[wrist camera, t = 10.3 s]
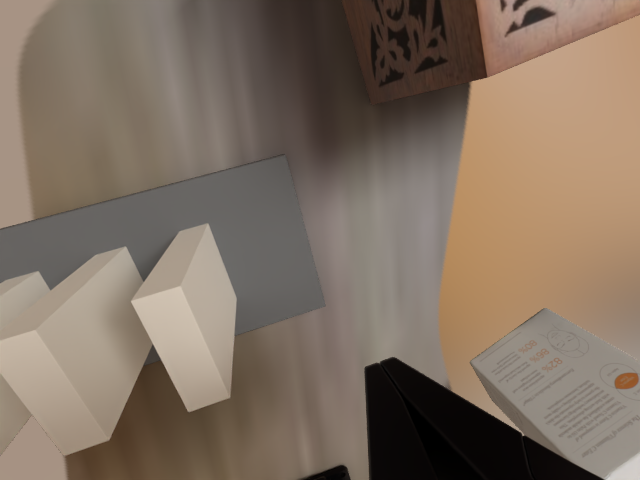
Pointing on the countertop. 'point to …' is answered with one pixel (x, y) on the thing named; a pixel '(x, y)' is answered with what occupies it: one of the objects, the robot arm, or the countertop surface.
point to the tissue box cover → (464, 38)
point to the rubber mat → (180, 214)
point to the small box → (568, 393)
